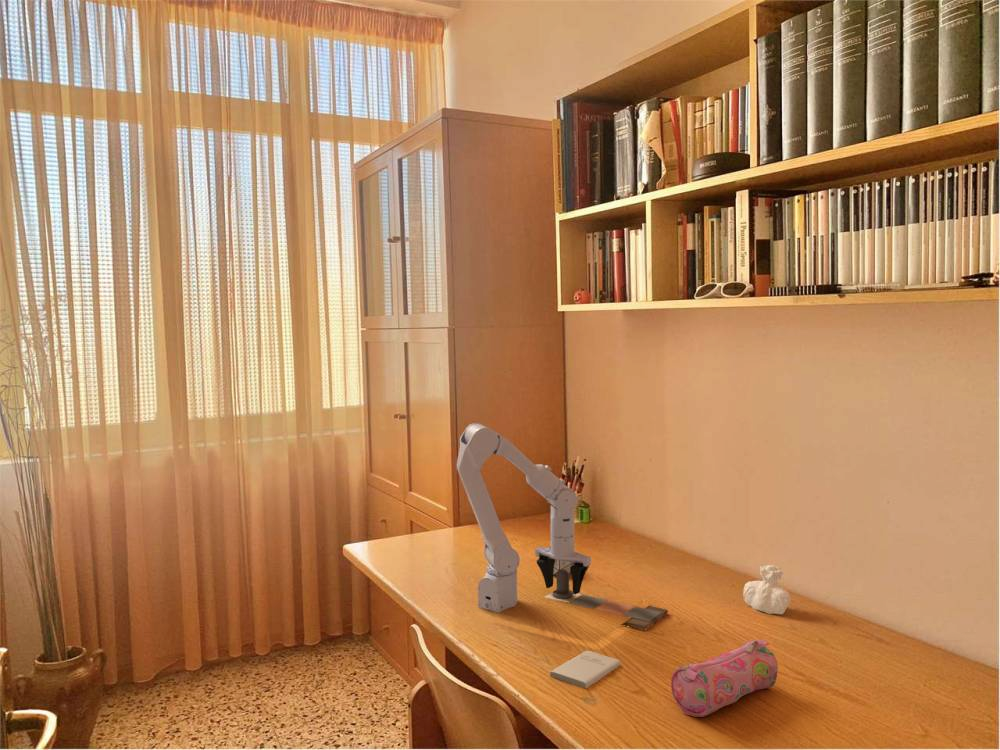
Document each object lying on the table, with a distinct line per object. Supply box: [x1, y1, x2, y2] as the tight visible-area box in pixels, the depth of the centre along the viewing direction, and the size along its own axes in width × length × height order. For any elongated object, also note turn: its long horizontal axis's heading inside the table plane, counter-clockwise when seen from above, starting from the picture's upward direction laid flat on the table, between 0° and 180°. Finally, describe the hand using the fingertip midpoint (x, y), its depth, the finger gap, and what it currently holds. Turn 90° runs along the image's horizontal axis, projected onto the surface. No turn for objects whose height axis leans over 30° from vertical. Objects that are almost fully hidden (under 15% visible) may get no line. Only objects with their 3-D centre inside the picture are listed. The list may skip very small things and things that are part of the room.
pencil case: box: [670, 638, 779, 718], centre depth 142 cm, size 21×9×9 cm, turn 126°
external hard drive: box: [549, 650, 622, 689], centre depth 155 cm, size 2×8×12 cm
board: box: [544, 592, 669, 631], centre depth 186 cm, size 12×28×1 cm, turn 54°
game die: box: [549, 546, 575, 577], centre depth 209 cm, size 9×8×10 cm
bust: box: [743, 564, 792, 615], centre depth 185 cm, size 12×8×11 cm
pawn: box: [553, 569, 573, 599], centre depth 192 cm, size 5×5×6 cm
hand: (562, 589), depth 192 cm, fingers open, 7 cm apart
